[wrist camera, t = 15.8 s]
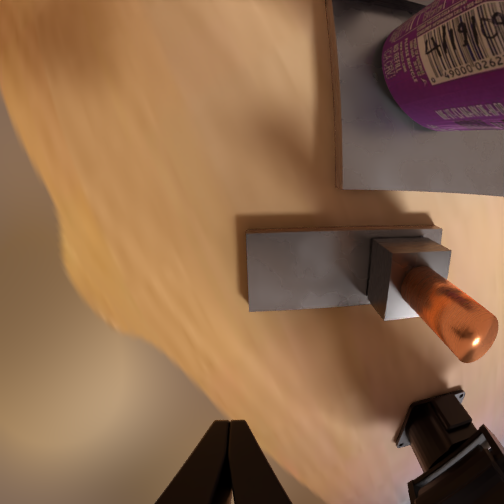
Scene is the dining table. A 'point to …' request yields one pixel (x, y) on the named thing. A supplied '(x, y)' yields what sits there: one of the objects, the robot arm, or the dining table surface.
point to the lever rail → (316, 264)
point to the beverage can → (449, 65)
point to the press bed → (396, 116)
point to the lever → (428, 294)
